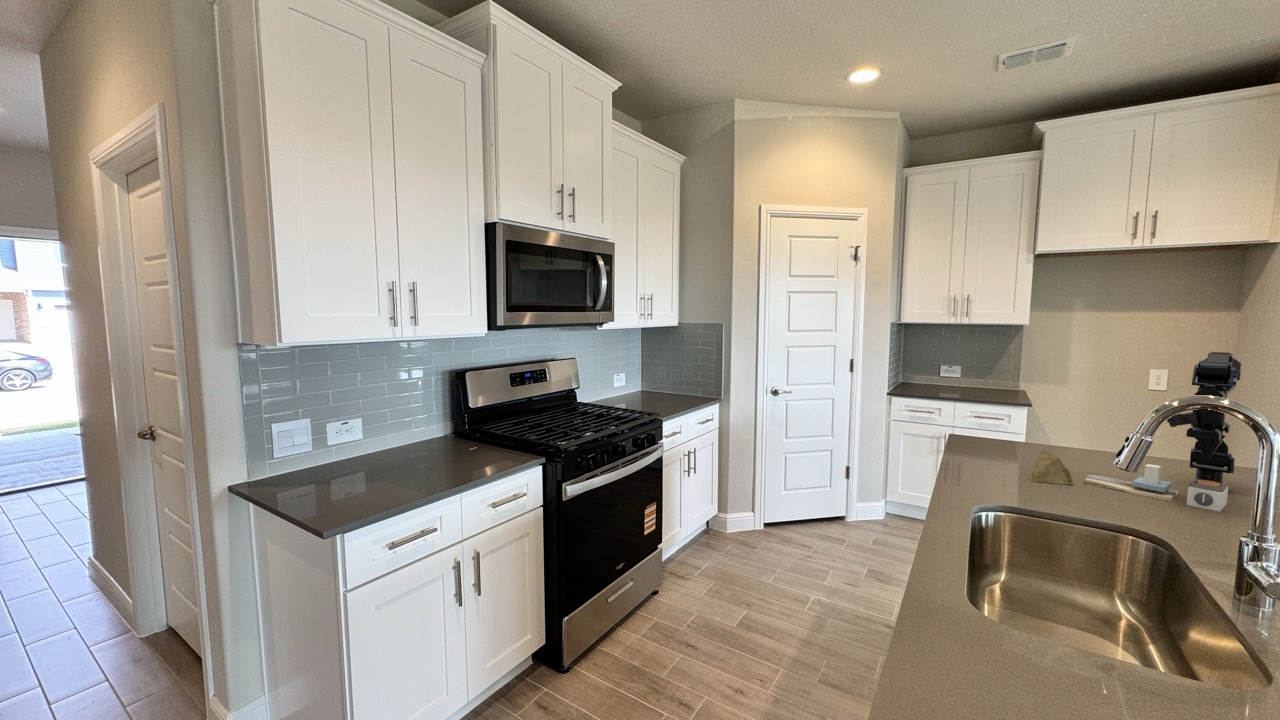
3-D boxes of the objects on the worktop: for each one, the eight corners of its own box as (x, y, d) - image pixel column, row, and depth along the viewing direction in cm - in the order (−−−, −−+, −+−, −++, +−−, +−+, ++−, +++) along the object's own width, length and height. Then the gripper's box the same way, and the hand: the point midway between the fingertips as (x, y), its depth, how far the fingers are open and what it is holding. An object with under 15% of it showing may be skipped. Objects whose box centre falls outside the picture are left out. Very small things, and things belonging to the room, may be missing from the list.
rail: (1093, 477, 173) (1093, 472, 172) (1178, 494, 156) (1178, 488, 156) (1083, 483, 167) (1083, 477, 167) (1170, 501, 151) (1170, 495, 150)
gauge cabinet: (1194, 497, 154) (1196, 477, 153) (1226, 504, 148) (1228, 483, 148) (1186, 505, 148) (1188, 484, 147) (1219, 512, 142) (1221, 490, 142)
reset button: (1198, 483, 151) (1199, 478, 151) (1221, 487, 147) (1221, 482, 147) (1195, 486, 148) (1195, 481, 148) (1218, 490, 145) (1218, 485, 144)
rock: (1080, 476, 167) (1044, 464, 175) (1079, 458, 163) (1042, 447, 171) (1065, 500, 164) (1028, 487, 172) (1063, 483, 160) (1026, 470, 168)
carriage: (1139, 481, 163) (1141, 461, 162) (1170, 487, 157) (1172, 466, 156) (1132, 485, 158) (1133, 465, 157) (1164, 492, 152) (1166, 471, 152)
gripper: (1177, 398, 159) (1173, 448, 160) (1163, 405, 148) (1158, 458, 150) (1232, 403, 150) (1227, 456, 151) (1221, 410, 139) (1215, 467, 141)
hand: (1206, 459), depth 148 cm, fingers closed
